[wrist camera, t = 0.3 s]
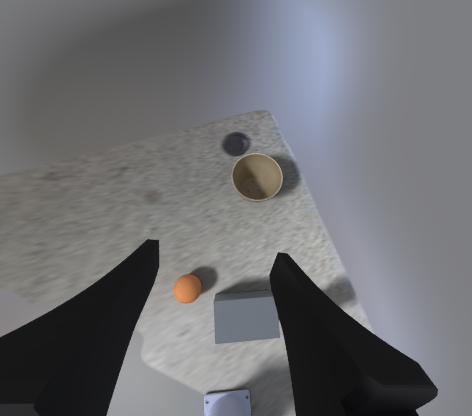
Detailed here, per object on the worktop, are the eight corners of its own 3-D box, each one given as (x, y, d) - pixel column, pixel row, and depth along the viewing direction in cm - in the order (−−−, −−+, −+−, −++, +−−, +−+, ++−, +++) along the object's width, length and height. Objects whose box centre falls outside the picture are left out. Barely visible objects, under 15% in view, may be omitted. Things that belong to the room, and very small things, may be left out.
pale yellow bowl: (265, 163, 45) (272, 147, 38) (280, 202, 43) (290, 192, 36) (225, 175, 44) (224, 160, 37) (238, 215, 42) (241, 207, 35)
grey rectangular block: (271, 324, 37) (280, 337, 31) (217, 329, 36) (215, 344, 30) (268, 289, 38) (275, 296, 32) (215, 294, 38) (213, 301, 32)
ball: (203, 298, 37) (199, 305, 32) (177, 300, 37) (170, 307, 32) (202, 272, 38) (199, 274, 34) (177, 274, 38) (170, 276, 33)
